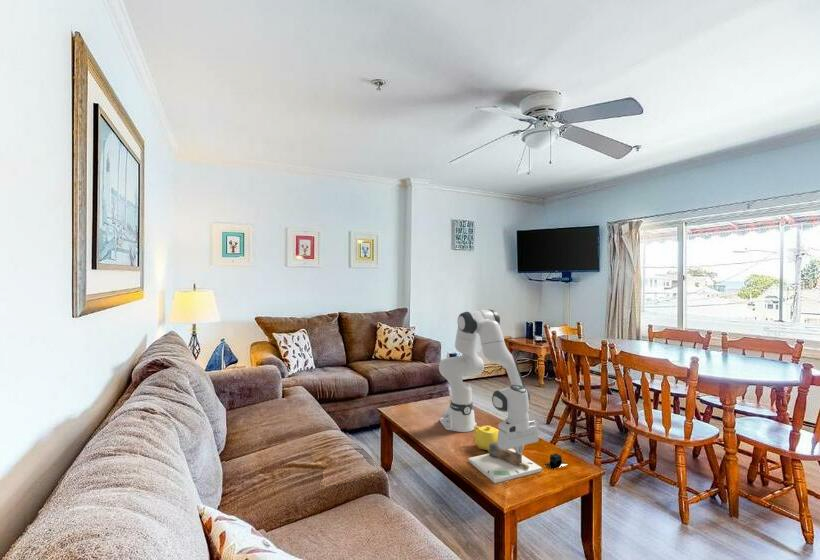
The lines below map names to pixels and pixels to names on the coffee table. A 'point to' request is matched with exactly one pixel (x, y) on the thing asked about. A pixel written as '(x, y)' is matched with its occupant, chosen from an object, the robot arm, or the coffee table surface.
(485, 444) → the teapot
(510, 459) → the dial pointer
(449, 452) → the coffee table surface
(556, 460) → the black flanged block
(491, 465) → the dial plate
